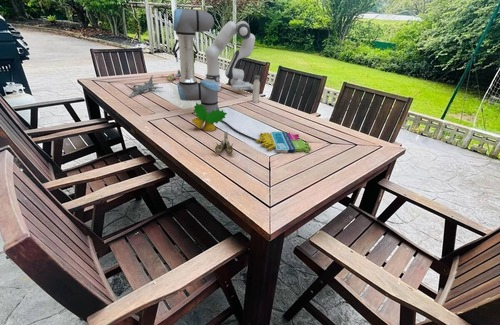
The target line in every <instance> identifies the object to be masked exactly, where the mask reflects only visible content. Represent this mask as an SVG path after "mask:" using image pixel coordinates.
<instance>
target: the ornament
mask: <svg viewBox="0 0 500 325" xmlns="http://www.w3.org/2000/svg"><path fill="white" fill-rule="evenodd" d="M219 110H220V108H219V109H217V110H216V111H214V110H212V112H211V113H208V112H206V109H204V106H201V103H198V102H195V105H194V106H193V112H194V113H195V118H192V119H191V122H192V123H193V125H195V127H197V128H198V129H202V130H203V131H206V132H212V131H213V132H214V131H215V130H216V126H215V124H218V123H219V122H222V120H223V119H226V115H227V114H228V113H227V112H224V110H223V109H221V110H220V111H219ZM207 113H208V115H207ZM214 123H215V124H214ZM222 123H223V122H222Z"/></svg>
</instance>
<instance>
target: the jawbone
mask: <svg viewBox="0 0 500 325" xmlns="http://www.w3.org/2000/svg"><path fill="white" fill-rule="evenodd" d="M223 135H224V136H223V140H222V139H221V142H220V144H218V142H215V144H216V146H215V148H214V149H215V152H214V154H215V155H217V156H218V155H220V153H221V152H223V151H224V150H226V152H227V153H228V155H229V156H233V155H234V154H233V153H234V148H233V144H234V143H230V140H228V139H229V138H228V137H229V136H228V135H229V133H228V131H226V132H224V134H223Z"/></svg>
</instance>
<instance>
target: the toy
mask: <svg viewBox="0 0 500 325" xmlns="http://www.w3.org/2000/svg"><path fill="white" fill-rule="evenodd" d="M160 78H161V79H162V78H163V79H164V78H165V79H166V81H169V82H171V81H173V80H178V81H179V79H180V78H181V69H178V70H177V74H176V73H171V74H169V75H168V76H163V75H160Z"/></svg>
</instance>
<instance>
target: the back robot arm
mask: <svg viewBox="0 0 500 325" xmlns="http://www.w3.org/2000/svg"><path fill="white" fill-rule="evenodd" d="M235 35H238V37H240V38H242V41H241V44H240V47H239V48H238V49H237V50H235V51H234V54H233V56H232V58H231V60H230V62H229V63H228V66H227V68H226V69H225V77H226V78H227V79H228V80H230V81H229V82H230V83H229V84H230V85H231V86H230V87H231V88H232V90H234V91H240V92H242V91H253V83H250V82H249V81H245V77H246V73H245V71H244V70H243V69H241V68H235V67H236V64H237V63H238V61H239V60H241V59H243V58H248V57H250V56H251V55H252V53H253V51H254V48H255V43H256V42H255V41H256V35H254V34H253V33H251V28H250V25H249V23H248V22H247V21H246V20H243V19H242V20H238V21H236V22H234V21H232V20H229V21H227V22H226V23H225V24H224V26H223V27H222V28H221V29H220V30H219V32H218V34H216V36H215V38H214V40H213V41H212V43H211V44H210V46H207V48H206V49H205V50H204V55H205V60H206V72H207V73H206V74H205V78H204V79H202V78H201V77H199V76H196V75H194V76H195V79H199V80H200V81H201V80H207V81H212V82H215V83H216V84H217V86H218V92H220V91H222V87H221V80H220V79H221V75H220V62H219V57H220V55H221V54H222V53H223V51H224V50H225V48H226V47H227V45H228V44H229V43H230V42H231V40H232V39H233V37H234V36H235Z"/></svg>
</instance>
